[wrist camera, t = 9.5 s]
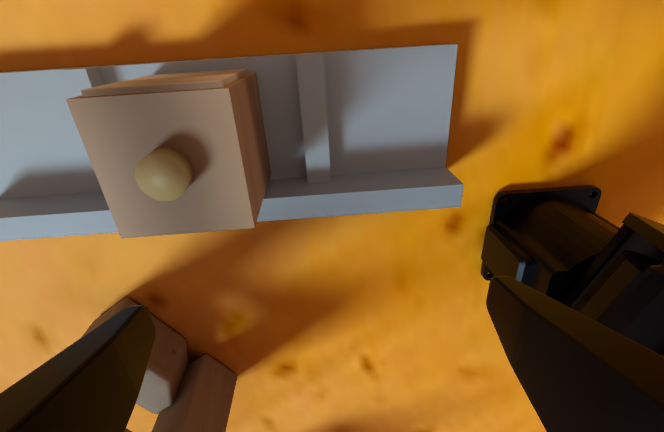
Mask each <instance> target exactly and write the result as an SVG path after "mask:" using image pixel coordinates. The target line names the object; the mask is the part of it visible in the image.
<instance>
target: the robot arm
mask: <svg viewBox="0 0 664 432" xmlns="http://www.w3.org/2000/svg"><path fill="white" fill-rule="evenodd" d="M591 192H592V194H591V195H590V196H589V194H590V193H591ZM600 196H601V190H600V189H599V188H597V187H595V186H594V185H586V186H572V187H559V188H545V189H532V190H518V191H505V192H500V193H498V194H497V195H496V196H495V197H494V200H493V205H492V211H491V216H490V222H489V225H488V226H487V228H486V233H485V239H484V244H483V250H482V256H481V259H482V260H483V261H482V267H481V275H482V276H483V278H484V279H485V280H490V284H489V290H488V295H487V300H486V305H487V309H488V312H489V315H490V317H491V319H492V322H493V324H494V327H495V329H496V331H497V334H498V336H499V339H500V341H501V344H502V346H503V348H504V351H505V353H506V356H507V358H508V360H509V362H510V364H511V366H512V368H513V370H514V372H515V374H516V376H517V378H518V379H519V381H520V383H521V385H522V387H523V389H524V390H525V392H526V394H527V396H528V398H529V400H530V402H531V403H532V405H533V407H534V409H535V411H536V413H537V414H538V416H539V418H540V420H541V422H542V424H543V425H544V427H545V429H546V431H547V432H664V225H663V224H660V223H657V222H655V221H652V220H649V219H647V218H644V217H641V216H639V215H636V214H633V213H629V214H628V215H627V217H626V218H625V219H624V220H623V221H622V223H624V224H623V225H622V226H621V228H619V227H617V226H616V225H614V224H612V223H611V222H609V221H607V220H606V219H604V218H602V217H601V216H599V215H597V214H596V213H595V211H596V208H597V205H598V202H599V199H600ZM503 198H506V199H505V201H504V202H502V203H501V200H502V199H503ZM489 272H491V273H489ZM487 273H489V274H487ZM155 337H156V328H155V325H154V323H153V320H152V318H151V315H150V313H149V310H148V308H147V307H146V306H145V305H134V306H128V307H126V308H124V309H123V310H121V311H120V312H118V313H117V314H115V315H114V316H113V317H111V318H110V319H108V320H107V321H105V322H104V323H102V324H101V325H99V326H98V327H97V328H95V329H94V330H92V331H91V332H89V333H88V334H86V335H85V336H83V337H82V338H80V339H79V340H78V341H76V342H75V343H73V344H72V345H70V346H69V347H67V348H66V349H64V350H63V351H62V352H60V353H59V354H57V355H56V356H54V357H53V358H51V359H50V360H48V361H47V362H45V363H44V364H43V365H41V366H40V367H38V368H37V369H35V370H34V371H32V372H31V373H29V374H28V375H27V376H25V377H24V378H22V379H21V380H19V381H18V382H16V383H15V384H13V385H12V386H10V387H9V388H8V389H6V390H5V391H3V392H2V393H0V432H124V431H125V429H126V426H127V424H128V421H129V419H130V416H131V414H132V411H133V409H134V406H135V404H136V401H137V398H138V396H139V393H140V389H141V386H142V383H143V379H144V376H145V372H146V369H147V365H148V362H149V359H150V355H151V352H152V348H153V345H154V341H155Z"/></svg>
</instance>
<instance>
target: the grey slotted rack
mask: <svg viewBox="0 0 664 432" xmlns="http://www.w3.org/2000/svg"><path fill="white" fill-rule="evenodd" d="M457 48H458V44H435V45H420V46H404V47H388V48H372V49H357V50H341V51H325V52H310V53H294V54H278V55H262V56H247V57H231V58H215V59H199V60H184V61H168V62H152V63H136V64H121V65H105V66H89V67H73V68H58V69H42V70H26V71H10V72H0V241H8V240H22V239H35V238H49V237H62V236H75V235H89V234H102V233H116V232H118V229H117V227H116V224H115V222H114V219H113V217H112V214H111V212H110V209H109V207H108V204H107V202H106V199H105V197H104V194H103V192H102V189H101V187H100V184H99V182H98V179H97V177H96V174H95V172H94V169H93V167H92V164H91V162H90V159H89V157H88V154H87V152H86V149H85V147H84V144H83V142H82V139H81V137H80V134H79V132H78V129H77V127H76V124H75V122H74V119H73V117H72V114H71V112H70V109H69V107H68V104H67V102H66V99H69V98H73V97H77V96H82V92H81V90H84V89H88V88H93V87H97V86H102V85H107V84H111V83H116V82H120V81H125V80H129V79H134V78H139V77H143V76H148V75H158V74H173V73H188V72H203V71H218V70H233V69H248V73H250V72H256V75H257V82H258V88H259V95H260V102H261V109H262V115H263V122H264V129H265V136H266V142H267V149H268V156H269V163H270V169H271V175H270V178H269V182H268V185H267V189H266V192H265V195H264V199H263V202H262V205H261V209H260V212H259V215H258V219H257V222H263V221H276V220H290V219H303V218H316V217H330V216H343V215H357V214H370V213H383V212H397V211H410V210H424V209H437V208H450V207H461V200H462V192H463V185H464V184H463V183H462V182H461V181H460V180H459V179H457V178H456V177H455V176H454V175H453V174H452V173H451V172H450V171H449V170H448V169H447V168H446V167H445V166H446V156H447V147H448V137H449V127H450V117H451V107H452V97H453V88H454V78H455V68H456V58H457Z"/></svg>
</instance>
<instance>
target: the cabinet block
mask: <svg viewBox="0 0 664 432" xmlns="http://www.w3.org/2000/svg"><path fill="white" fill-rule="evenodd" d="M81 92H82V96H77V97H73V98H69V99H66V102H67V104H68V107H69V109H70V112H71V114H72V117H73V119H74V122H75V124H76V127H77V129H78V132H79V134H80V137H81V139H82V142H83V144H84V147H85V149H86V152H87V154H88V157H89V159H90V162H91V164H92V167H93V169H94V172H95V174H96V177H97V179H98V182H99V184H100V187H101V189H102V192H103V194H104V197H105V199H106V202H107V204H108V207H109V209H110V212H111V214H112V217H113V219H114V222H115V224H116V227H117V229H118V232H119V234H120V237H121V238H133V237H146V236H159V235H172V234H185V233H197V232H210V231H223V230H236V229H249V228H255V225H256V222H257V219H258V215H259V212H260V209H261V205H262V202H263V199H264V195H265V192H266V189H267V185H268V182H269V178H270V175H271V169H270V163H269V156H268V149H267V142H266V136H265V129H264V122H263V115H262V109H261V102H260V95H259V88H258V82H257V75H256V72H250V73H248V69H233V70H218V71H203V72H188V73H173V74H158V75H148V76H143V77H139V78H134V79H129V80H125V81H120V82H116V83H111V84H107V85H102V86H97V87H93V88H88V89H84V90H81Z"/></svg>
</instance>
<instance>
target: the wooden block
mask: <svg viewBox="0 0 664 432" xmlns="http://www.w3.org/2000/svg"><path fill="white" fill-rule="evenodd" d="M134 305H138V304H136V303H135V302H134V301H132V300H131V299H129V298H125V299H123V300H121V301H120V302H119V303H117V304H116V305H115V306H113V307H112V308H111V309H109V310H108V311H107V312H105V313H104V314H103V315H101V316H100V317H99V318H97V319H96V320H95V321H94V322H93V323H92V324H91V326H90V327H89V328H88V330H87V331H86V332H85V334H84V335H83V336H85V335H86V334H88V333H89V332H91V331H92V330H94V329H95V328H97V327H98V326H99V325H101V324H102V323H104V322H105V321H107V320H108V319H110V318H111V317H113V316H114V315H115V314H117V313H118V312H120V311H121V310H123V309H124V308H126V307H128V306H134ZM150 315H151V318H152V320H153V323H154V325H155V328H156V337H155V341H154V345H153V348H152V352H151V355H150V359H149V362H148V365H147V369H146V372H145V376H144V379H143V383H142V386H141V389H140V393H139V396H138V398H137V401H136V404H138V405H139V406H141V407H143V408H145V409H146V410H148V411H150V412H152V413H154V414H158V413H159V415H158V417H157V420H156V422H155V425H154V427H153V430H152V432H225V431H226V426H227V422H228V417H229V413H230V408H231V403H232V399H233V394H234V390H235V385H236V381H237V376H236V375H235V374H234V373H233V372H232V371H230V370H229V369H227V368H226V367H225V366H223V365H222V364H220V363H219V362H218V361H216V360H215V359H213V358H212V357H211V356H209V355H207V354H205V355H203V356H201V357H199V358H198V359H196V360H195V361H193V362H192V363H190V364H189V365H188V352H187V341H186V339H185V338H183V337H182V336H181V335H179V334H178V333H176V332H175V331H174V330H172V329H171V328H169V327H168V326H167V325H165V324H164V323H163V322H161V321H160V320H158V319H157V318H156V317H154V316H153V315H152V314H150ZM83 336H82V337H83ZM82 337H81V338H82ZM124 432H132V431H130V430H128V429H125V431H124Z"/></svg>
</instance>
